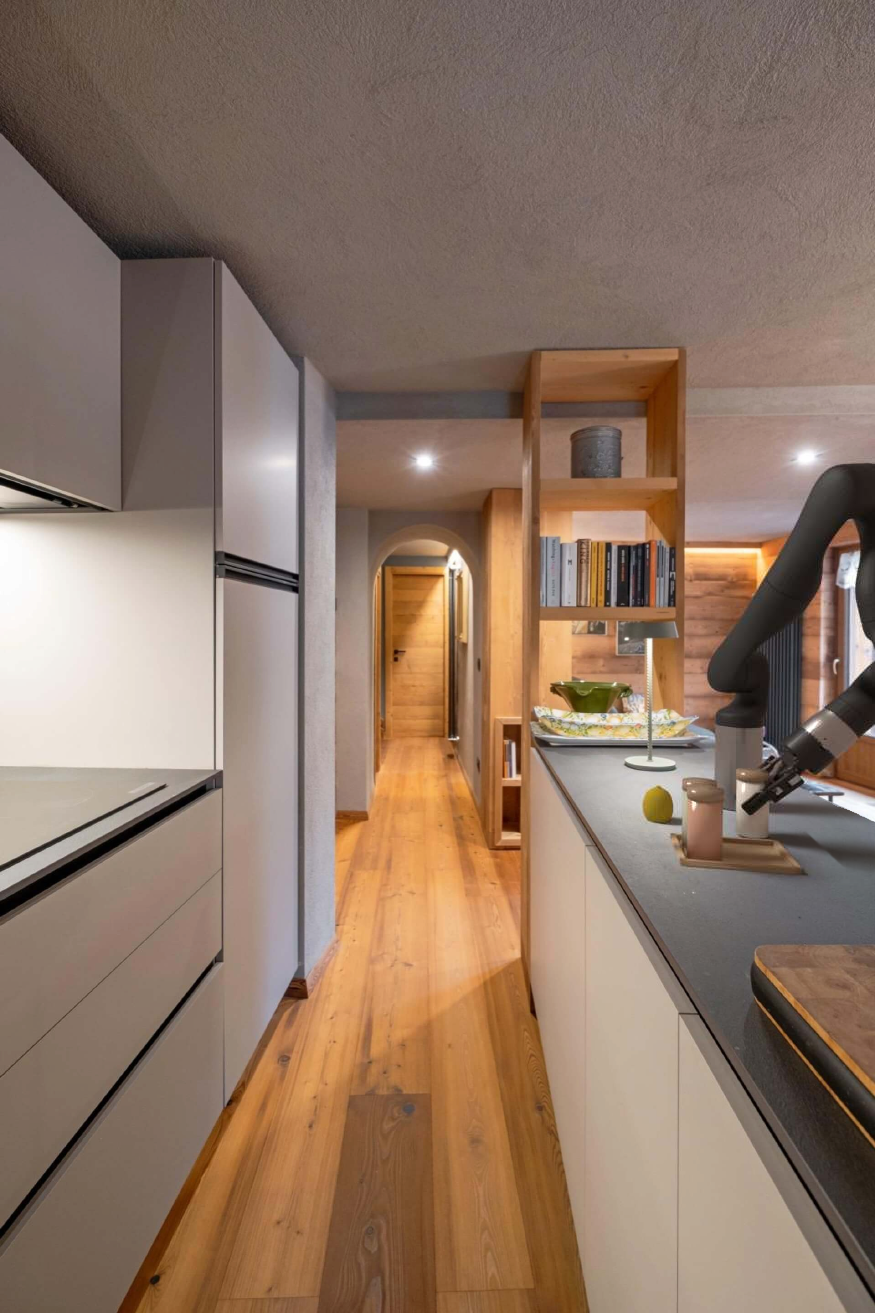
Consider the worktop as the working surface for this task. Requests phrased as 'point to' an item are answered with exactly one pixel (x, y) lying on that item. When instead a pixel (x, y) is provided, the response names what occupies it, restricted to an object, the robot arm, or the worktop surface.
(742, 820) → the white jar
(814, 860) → the worktop surface
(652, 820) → the lemon
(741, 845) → the tray
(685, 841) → the sage jar
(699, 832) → the terracotta jar
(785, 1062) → the worktop surface
